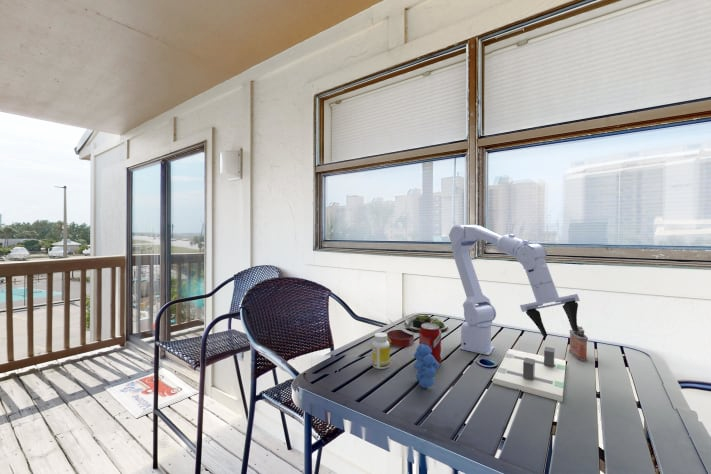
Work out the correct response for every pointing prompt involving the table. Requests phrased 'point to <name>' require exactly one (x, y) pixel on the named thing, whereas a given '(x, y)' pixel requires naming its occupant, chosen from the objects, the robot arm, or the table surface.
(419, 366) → the grapes
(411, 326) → the salad plate
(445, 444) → the table surface
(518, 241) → the robot arm
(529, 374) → the handle
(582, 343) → the lighter
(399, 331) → the dark red bowl
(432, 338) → the soda can
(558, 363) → the switch plate
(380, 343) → the supplement bottle
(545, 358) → the on handle
